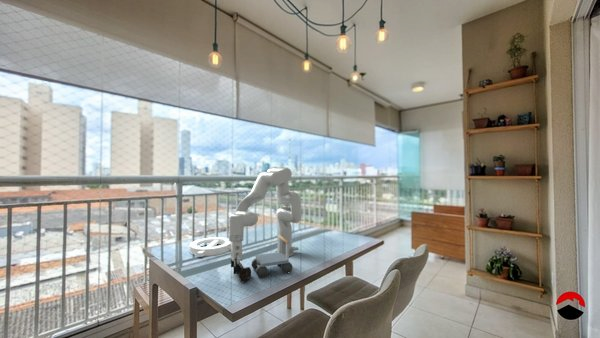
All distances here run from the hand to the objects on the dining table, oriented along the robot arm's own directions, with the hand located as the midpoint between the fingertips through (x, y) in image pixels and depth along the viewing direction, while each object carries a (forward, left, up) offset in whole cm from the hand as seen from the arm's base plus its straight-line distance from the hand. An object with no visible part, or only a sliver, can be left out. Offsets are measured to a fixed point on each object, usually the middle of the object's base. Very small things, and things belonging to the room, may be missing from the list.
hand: (235, 270), depth 126 cm
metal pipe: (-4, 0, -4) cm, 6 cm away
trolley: (-20, 0, -4) cm, 20 cm away
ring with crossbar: (+9, -52, -4) cm, 53 cm away
